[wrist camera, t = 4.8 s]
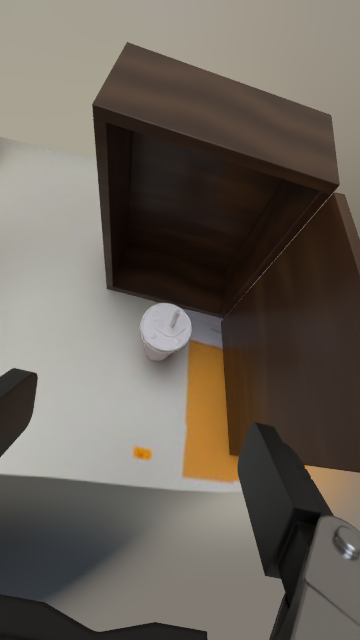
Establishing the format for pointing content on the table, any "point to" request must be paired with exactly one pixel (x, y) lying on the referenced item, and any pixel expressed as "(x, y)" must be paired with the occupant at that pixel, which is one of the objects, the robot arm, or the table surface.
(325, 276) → the cupboard door
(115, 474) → the table surface
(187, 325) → the smoothie
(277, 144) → the cupboard
